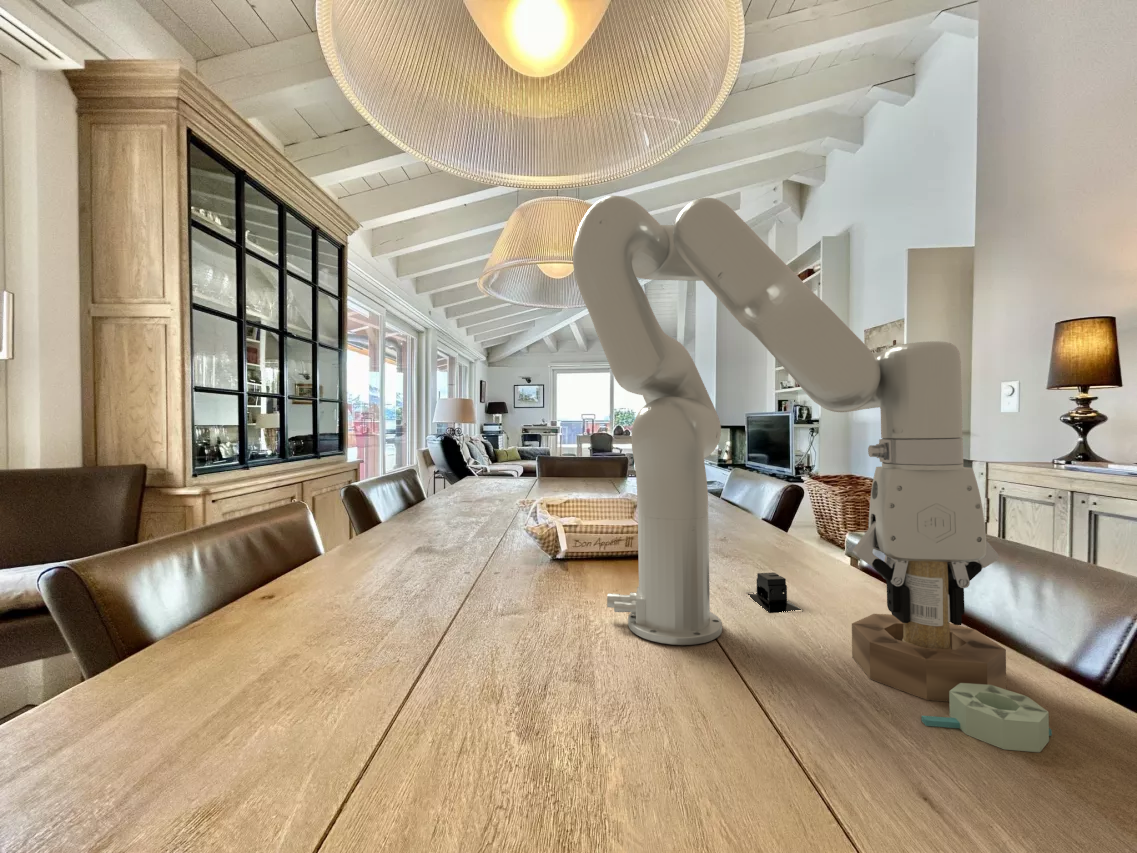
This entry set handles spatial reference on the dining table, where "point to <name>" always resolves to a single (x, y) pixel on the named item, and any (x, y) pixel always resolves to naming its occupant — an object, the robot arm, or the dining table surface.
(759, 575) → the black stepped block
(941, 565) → the sprinkles bottle
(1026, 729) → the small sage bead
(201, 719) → the dining table surface
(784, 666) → the dining table surface
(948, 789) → the dining table surface
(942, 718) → the teal bar
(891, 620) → the brown octagonal holder
